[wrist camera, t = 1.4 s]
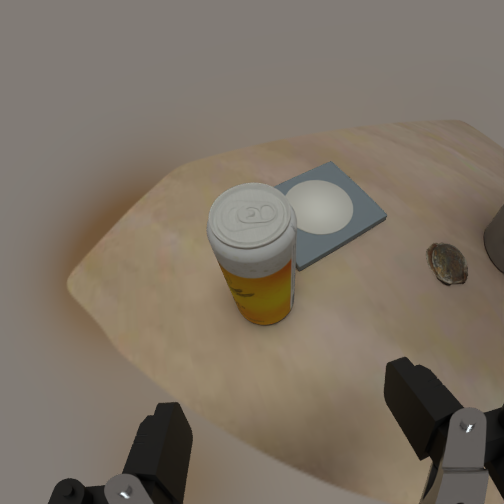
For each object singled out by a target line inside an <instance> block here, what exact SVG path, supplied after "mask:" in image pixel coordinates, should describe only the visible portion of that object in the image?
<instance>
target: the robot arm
mask: <svg viewBox="0 0 504 504" xmlns="http://www.w3.org/2000/svg"><path fill="white" fill-rule="evenodd" d="M484 242H485V247H486V249H487V252H488V254H489V256H490V258H491V260H492V261H493V263H494V264H495V265H496V266H497V267H498V269H500V270H501V271H502V272H503V273H504V205H503V206H502V207H501V209H500V210H499V212H498V213H497V214H496V216H495V217H494V218H493V220H492V221H491V222H490V224H489V225H488V226H487V228H486V230H485V233H484ZM384 398H385V401H386V404H387V406H388V407H389V409H390V411H391V412H392V414H393V416H394V417H395V419H396V421H397V422H398V424H399V426H400V427H401V429H402V431H403V432H404V434H405V436H406V437H407V439H408V441H409V442H410V444H411V446H412V448H413V449H414V451H415V453H416V454H417V456H418V458H419V460H420V461H421V460H423V459H425V458H427V457H429V456H430V458H431V459H432V463H431V466H430V470H429V473H428V477H427V480H426V484H425V487H424V490H423V493H422V496H421V499H420V502H419V504H484V501H485V496H486V490H487V484H488V476H489V475H490V477H491V478H492V480H493V482H494V484H495V485H496V487H497V489H498V491H499V492H500V494H501V496H502V498H503V499H504V404H503V406H502V407H501V408H498V409H495V410H492V411H488V412H485V413H483V412H481V411H480V410H478V409H476V408H470V407H469V408H464V407H463V406H462V405H461V404H460V402H459V401H458V400H457V399H456V398H455V397H454V396H453V395H452V393H451V392H450V391H449V390H448V389H447V388H446V387H445V386H444V385H443V384H442V382H441V381H440V380H439V379H437V377H436V376H435V375H434V374H433V372H432V371H431V370H430V369H428V368H426V367H424V366H422V365H420V364H419V365H416V366H414V365H413V364H412V363H411V361H410V360H409V359H408V358H407V357H402V358H399V359H397V360H394V361H391V362H388V363H387V365H386V374H385V384H384ZM192 441H193V435H192V430H191V427H190V425H189V423H188V421H187V419H186V417H185V415H184V413H183V411H182V408H181V406H180V404H179V403H178V402H171V403H158V405H157V407H156V410H155V413H154V415H153V416H152V415H150V416H147V417H146V418H145V419H144V421H143V422H142V423H141V424H140V426H139V429H138V431H137V436H136V437H135V440H134V444H133V445H132V447H131V450H130V453H129V456H128V459H127V461H126V464H125V467H124V469H123V472H122V474H119V475H116V476H114V477H112V478H111V479H110V480H109V481H108V482H107V483H106V485H103V486H92V487H85V486H84V485H83V484H82V483H81V482H79V481H78V480H76V479H72V478H70V479H69V478H68V479H64V480H62V481H60V482H59V483H58V484H57V485H56V486H55V488H54V490H53V492H52V495H51V497H50V500H49V502H48V504H183V499H184V492H185V485H186V478H187V473H188V466H189V460H190V454H191V448H192ZM484 467H485V468H486V469H484Z"/></svg>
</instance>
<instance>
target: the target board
mask: <svg viewBox="0 0 504 504" xmlns="http://www.w3.org/2000/svg"><path fill="white" fill-rule="evenodd" d="M274 188H276V189H278V190H279V191H280V192H282V193H283V194H284V195H285V197H286V198H287V200H288V202H289V204H290V205H291V206H292V208H293V209H294V211H295V214H296V218H297V242H296V268H297V269H298V270H299V271H301V270H303V269H304V268H306V267H308V266H310V265H311V264H313V263H315V262H316V261H318V260H320V259H322V258H323V257H325V256H327V255H328V254H330V253H332V252H333V251H335V250H337V249H338V248H340V247H342V246H343V245H345V244H347V243H348V242H350V241H352V240H353V239H355V238H357V237H358V236H360V235H361V234H363V233H365V232H366V231H368V230H370V229H371V228H373V227H374V226H376V225H378V224H379V223H381V222H382V221H384V220H386V217H387V214H386V213H385V212H384V211H383V210H382V209H381V208H380V207H379V206H378V205H377V204H376V203H375V202H374V201H373V200H372V199H371V198H370V197H369V196H368V195H367V194H366V193H365V192H364V191H363V190H362V189H361V188H360V187H359V186H358V185H357V184H356V183H355V182H354V181H352V180H351V179H350V178H349V177H348V176H347V175H346V174H345V173H344V172H343V171H342V170H340V169H339V168H338V167H337V166H336V165H335V164H334V163H333V162H331V161H330V162H328V163H326V164H323V165H321V166H319V167H316V168H314V169H312V170H310V171H307V172H305V173H303V174H301V175H299V176H296V177H294V178H292V179H290V180H288V181H285V182H283V183H281V184H279V185H277V186H275V187H274Z"/></svg>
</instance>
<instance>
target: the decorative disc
mask: <svg viewBox="0 0 504 504" xmlns="http://www.w3.org/2000/svg"><path fill="white" fill-rule="evenodd" d="M426 259H427V262H428V265H429V267H430V269H431V270H432V272H434V273H435V274H436V275H437V276H436V277H437V278H438V279H439V280H440V281H442V282H444V283H445V284H448V285H451V283H452V284H453V283H458V282H459V283H465V281H466V279H467V276H468V273H467V271H468V270H467V269H468V267H467V262H466V260H465V258H464V256H463V255H462V254H461V252H460V251H459V250H458V249H457V248H456V247H454V246H452V245H450V244H445V243H439V244H438V243H434V244H432V245H431V246H430V247H429V248H428V249H427V251H426Z"/></svg>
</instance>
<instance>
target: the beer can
mask: <svg viewBox="0 0 504 504" xmlns="http://www.w3.org/2000/svg"><path fill="white" fill-rule="evenodd" d="M207 236H208V239H209V242H210V244H211V247H212V249H213V251H214V254H215V256H216V258H217V261H218V263H219V265H220V268H221V270H222V272H223V275H224V277H225V279H226V281H227V284H228V286H229V288H230V291H231V293H232V295H233V297H234V300H235V302H236V304H237V306H238V309H239V311H240V312H241V314H242V315H243V316H244V317H245V318H246V319H247V320H249V321H251V322H253V323H255V324H260V325H269V324H273V323H276V322H278V321H280V320H282V319H283V318H284V317H285V316H286V315H287V314H288V313H289V312H290V310H291V308H292V306H293V302H294V287H295V267H296V242H297V218H296V214H295V211H294V209H293V208H292V206H291V205H290V204H289V202H288V200H287V198H286V197H285V195H284V194H283V193H282V192H280V191H279V190H278V189H276V188H274V187H272V186H269V185H266V184H262V183H245V184H241V185H237V186H234V187H232V188H230V189H228V190H226V191H225V192H223V193H222V194H221V195H220V196H219V197H218V198H217V199H216V200H215V201H214V203H213V204H212V206H211V209H210V212H209V219H208V222H207Z"/></svg>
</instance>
